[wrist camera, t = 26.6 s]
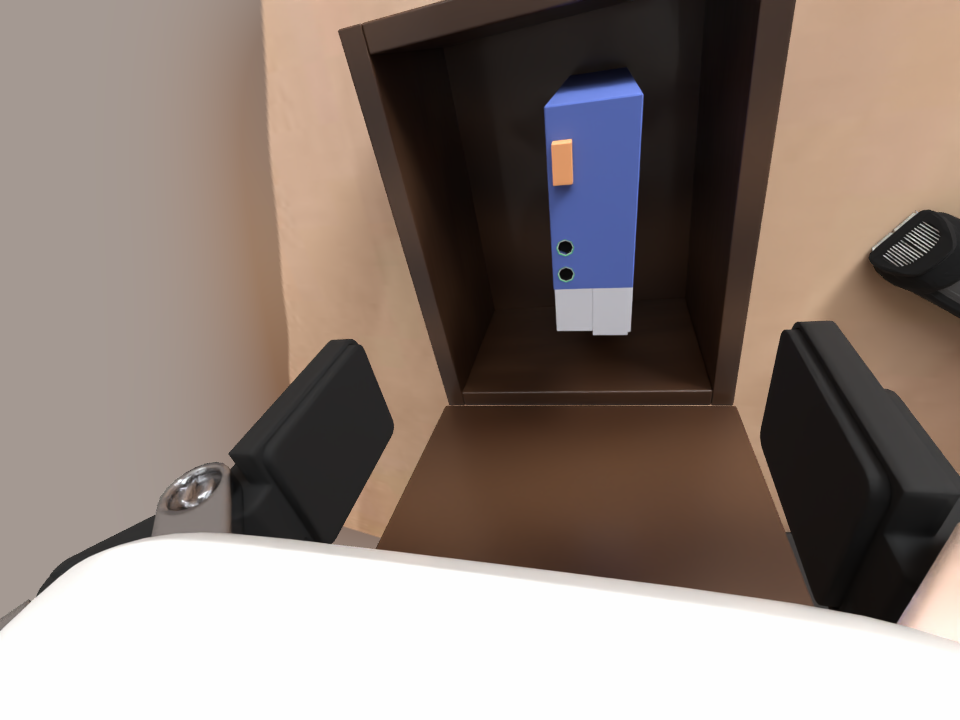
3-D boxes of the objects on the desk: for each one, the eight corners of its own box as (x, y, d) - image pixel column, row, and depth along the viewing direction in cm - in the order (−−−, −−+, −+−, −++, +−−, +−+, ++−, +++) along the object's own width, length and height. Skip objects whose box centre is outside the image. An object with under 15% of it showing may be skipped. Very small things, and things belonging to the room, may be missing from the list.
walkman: (568, 75, 22) (540, 108, 13) (627, 66, 21) (645, 94, 12) (572, 231, 26) (554, 342, 17) (621, 228, 26) (631, 342, 16)
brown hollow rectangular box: (427, 30, 23) (337, 29, 15) (727, -49, 19) (812, -103, 11) (487, 315, 32) (449, 405, 24) (698, 302, 28) (733, 405, 20)
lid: (196, 911, 9) (293, 962, 12) (1083, 1286, 5) (936, 1238, 8) (445, 405, 24) (464, 478, 27) (736, 405, 20) (725, 492, 23)
